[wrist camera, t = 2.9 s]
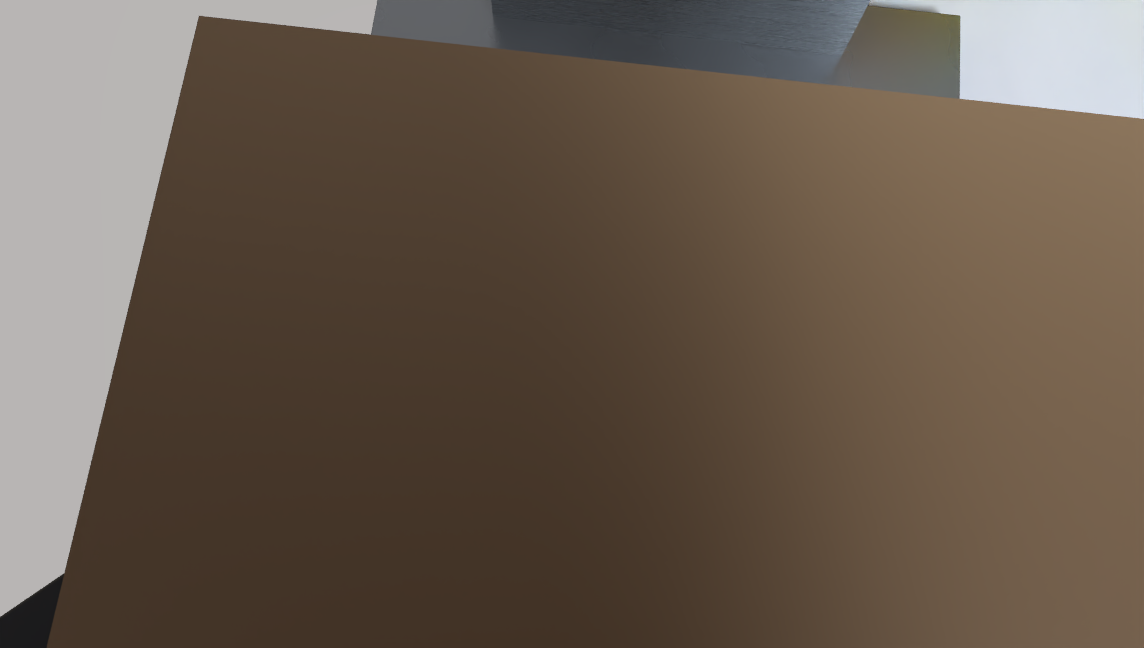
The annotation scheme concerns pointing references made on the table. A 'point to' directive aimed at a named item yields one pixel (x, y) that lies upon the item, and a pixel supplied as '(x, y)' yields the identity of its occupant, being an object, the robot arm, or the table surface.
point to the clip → (708, 36)
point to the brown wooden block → (616, 363)
